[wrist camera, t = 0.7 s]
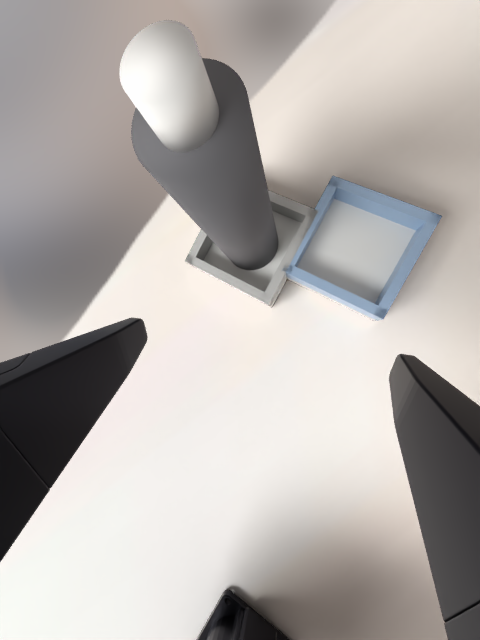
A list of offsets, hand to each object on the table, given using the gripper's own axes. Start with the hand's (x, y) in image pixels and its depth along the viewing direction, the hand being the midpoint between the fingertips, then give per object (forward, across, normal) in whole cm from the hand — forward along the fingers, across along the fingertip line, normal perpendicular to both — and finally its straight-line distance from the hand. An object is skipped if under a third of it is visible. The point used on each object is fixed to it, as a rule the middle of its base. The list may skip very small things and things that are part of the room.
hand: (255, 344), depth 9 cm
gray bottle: (+14, +3, 0) cm, 15 cm away
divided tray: (+14, -1, +2) cm, 15 cm away
